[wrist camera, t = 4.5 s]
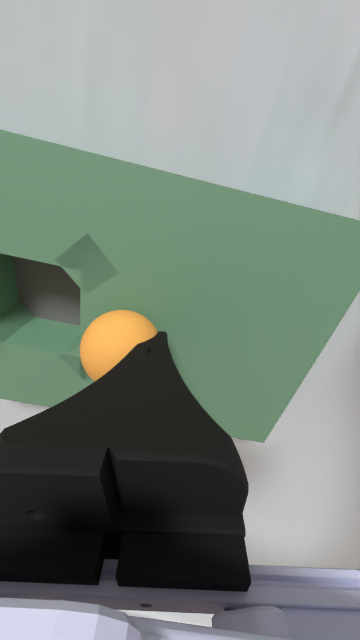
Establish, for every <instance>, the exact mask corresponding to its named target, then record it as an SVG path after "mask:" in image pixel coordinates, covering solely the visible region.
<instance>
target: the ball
mask: <svg viewBox="0 0 360 640" xmlns="http://www.w3.org/2000/svg"><path fill="white" fill-rule="evenodd" d="M157 332H158V331H157V330H156V328H155V326H154V325H153V324H152V323H151V322H150V321H149V320H148V319H147V318H146V317H144V316H143V315H141V314H139V313H137V312H133V311H129V310H114V311H110V312H107V313H105V314H103V315H101V316H99V317H98V318H96V319H95V320H94V321H93V322H92V323H91V324H90V325H89V326H88V327H87V329H86V331H85V332H84V334H83V337H82V340H81V344H80V358H81V362H82V365H83V368H84V369H85V371H86V373H87V374H88V375H89V377H90V378H91V379H92V380H94V381H96V380H98V379H99V378H100V377H102V376H103V375H104V374H106V373H107V372H108V371H109V370H111V369H112V368H113V367H114V366H115V365H116V364H117V363H119V362H120V361H121V360H122V359H123V358H124V357H125V356H126V355H127V354H128V353H129V352H130V351H131V350H132V349H133V348H134V347H135V346H136V345H137V344H138V343H142V342H144V341H147V340H149V339H151V338H152V337H154V336H155V335H156V334H157Z"/></svg>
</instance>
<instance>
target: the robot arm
mask: <svg viewBox="0 0 360 640" xmlns="http://www.w3.org/2000/svg"><path fill="white" fill-rule="evenodd" d="M247 496H248V481H247V477H246V473H245V470H244V467H243V464H242V461H241V459H240V456H239V454H238V451H237V449H236V447H235V445H234V443H233V440H232V438H231V436H230V435H228V434H227V433H226V432H225V431H224V430H223V429H222V428H221V427H220V426H219V425H218V424H217V423H216V422H215V421H214V420H213V419H212V418H211V416H210V415H209V414H208V413H207V412H206V411H205V410H204V409H203V407H202V406H201V405H200V403H199V402H198V401H197V400H196V398H195V397H194V396H193V394H192V393H191V392H190V390H189V389H188V387H187V386H186V384H185V382H184V381H183V379H182V377H181V375H180V374H179V372H178V370H177V367H176V365H175V363H174V361H173V358H172V356H171V353H170V350H169V346H168V337H167V333H166V332H165V331H158V332H157V334H156V335H155V336H154V337H152V338H151V339H149V340H147V341H144V342H142V343H138V344H137V345H136V346H135V347H134V348H133V349H132V350H131V351H130V352H129V353H128V354H127V355H126V356H125V357H124V358H123V359H122V360H121V361H120V362H119V363H117V364H116V365H115V366H114V367H113V368H112V369H111V370H109V371H108V372H107V373H106V374H104V375H103V376H102V377H100V378H99V379H98V380H96V381H95V382H93V383H92V384H90V385H89V386H87V387H86V388H84V389H82V390H81V391H79V392H78V393H76V394H75V395H73V396H71V397H69V398H68V399H66V400H64V401H62V402H60V403H58V404H57V405H55V406H53V407H51V408H49V409H47V410H45V411H43V412H41V413H39V414H36V415H34V416H32V417H30V418H28V419H25V420H23V421H21V422H19V423H16V424H14V425H12V426H9V427H7V428H5V429H4V430H3V431H2V432H1V433H0V640H360V570H359V569H335V568H311V567H287V566H263V565H249V564H248V558H247V552H246V546H245V540H244V537H245V535H246V534H245V525H244V520H243V514H242V513H243V510H244V506H245V503H246V499H247ZM114 609H117V610H114ZM118 610H139V611H161V612H183V613H205V614H214V616H213V618H212V628H211V627H205V626H198V625H191V624H184V623H177V622H170V621H163V620H156V619H149V618H141V617H133V616H128V615H127V614H125V613H124V612H121V611H118Z"/></svg>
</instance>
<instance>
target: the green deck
mask: <svg viewBox="0 0 360 640" xmlns="http://www.w3.org/2000/svg"><path fill="white" fill-rule="evenodd" d="M359 291H360V221H359V220H355V219H351V218H347V217H343V216H339V215H335V214H331V213H327V212H323V211H319V210H315V209H311V208H308V207H304V206H300V205H296V204H292V203H288V202H284V201H280V200H276V199H272V198H268V197H264V196H260V195H256V194H252V193H248V192H244V191H240V190H236V189H232V188H229V187H225V186H221V185H217V184H213V183H209V182H205V181H201V180H197V179H193V178H189V177H185V176H181V175H177V174H173V173H169V172H165V171H161V170H157V169H154V168H150V167H146V166H142V165H138V164H134V163H130V162H126V161H122V160H118V159H114V158H110V157H106V156H102V155H98V154H94V153H90V152H86V151H82V150H79V149H75V148H71V147H67V146H63V145H59V144H55V143H51V142H47V141H43V140H39V139H35V138H31V137H27V136H23V135H19V134H15V133H11V132H7V131H4V130H0V399H6V400H12V401H18V402H24V403H30V404H36V405H42V406H48V407H53V406H55V405H57V404H58V403H60V402H62V401H64V400H66V399H68V398H69V397H71V396H73V395H75V394H76V393H78V392H79V391H81V390H82V389H84V388H86V387H87V386H89V385H90V384H92V383H93V382H95V381H94V380H92V379H91V378H90V377H89V375H88V374H87V373H86V371H85V369H84V368H83V365H82V362H81V358H80V344H81V340H82V337H83V334H84V332H85V331H86V329H87V327H88V326H89V325H90V324H91V323H92V322H93V321H94V320H95V319H96V318H98V317H99V316H101V315H103V314H105V313H107V312H110V311H114V310H129V311H133V312H137V313H139V314H141V315H143V316H144V317H146V318H147V319H148V320H149V321H150V322H151V323H152V324H153V325H154V326H155V328H156V330H157V331H165V332H166V333H167V337H168V346H169V350H170V353H171V356H172V358H173V361H174V363H175V365H176V367H177V370H178V372H179V374H180V375H181V377H182V379H183V381H184V382H185V384H186V386H187V387H188V389H189V390H190V392H191V393H192V394H193V396H194V397H195V398H196V400H197V401H198V402H199V403H200V405H201V406H202V407H203V409H204V410H205V411H206V412H207V413H208V414H209V415H210V416H211V418H212V419H213V420H214V421H215V422H216V423H217V424H218V425H219V426H220V427H221V428H222V429H223V430H224V431H225V432H226V433H227V434H228V435H230V436H231V437H233V438H239V439H245V440H251V441H257V442H263V443H264V442H265V440H266V438H267V437H268V435H269V434H270V432H271V430H272V429H273V427H274V426H275V424H276V423H277V421H278V419H279V418H280V416H281V415H282V413H283V411H284V410H285V408H286V407H287V405H288V403H289V402H290V400H291V399H292V397H293V396H294V394H295V392H296V391H297V389H298V388H299V386H300V384H301V383H302V381H303V380H304V378H305V377H306V375H307V373H308V372H309V370H310V369H311V367H312V365H313V364H314V362H315V361H316V359H317V358H318V356H319V354H320V353H321V351H322V350H323V348H324V346H325V345H326V343H327V342H328V340H329V338H330V337H331V335H332V334H333V332H334V331H335V329H336V327H337V326H338V324H339V323H340V321H341V319H342V318H343V316H344V315H345V313H346V312H347V310H348V308H349V307H350V305H351V304H352V302H353V300H354V299H355V297H356V296H357V294H358V293H359Z"/></svg>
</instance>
